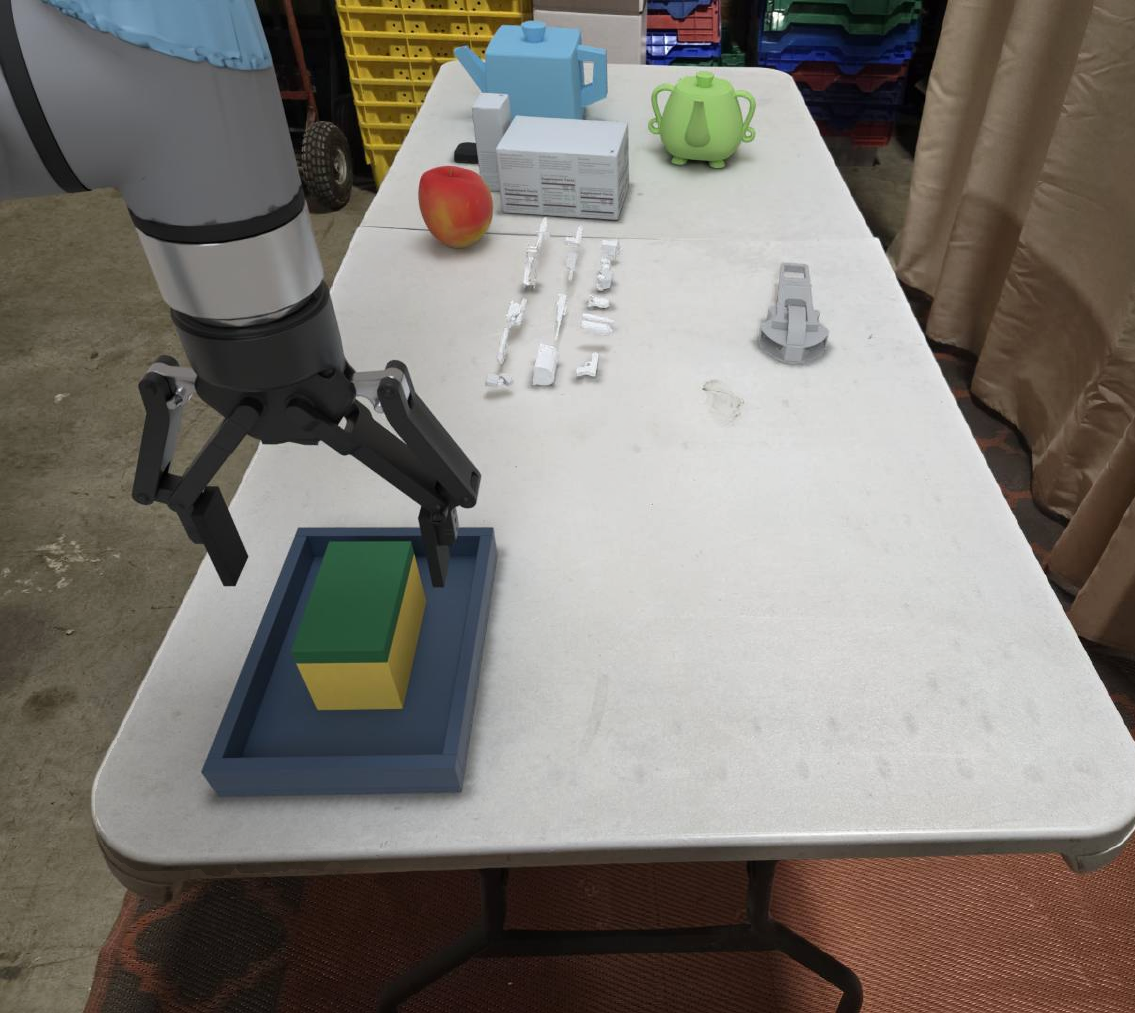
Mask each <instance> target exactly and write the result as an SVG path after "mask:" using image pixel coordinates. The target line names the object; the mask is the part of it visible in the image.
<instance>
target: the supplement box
mask: <svg viewBox="0 0 1135 1013" xmlns="http://www.w3.org/2000/svg"><path fill="white" fill-rule="evenodd" d="M629 144H630V142H629V122H628V121H610V120H609V121H608V120H593V119H591V120H590V119H583V120H578V119H561V118H545V117H529V116H517V115H516V117H515V118H514V120H513V121H512V123H511V125H510V126H509V128H508V130H507V131H506V133H505V134H504V136H503V138H502V139H501V141H500V142H499V144H498V146H497V147H496V149H495V151H496V160H497V169H498V177H499V186H500V191H499V195H500V206H501V212H502V213H507V214H509V213H511V214H522V215H523V214H524V215H538V216H550V217H551V216H553V217H565V218H567V217H568V218H583V219H599V220H611V221H612V220H613V221H618V220H619V219H620V214H621V212H622V209H623V205H624V202H625V199H626V195H627V192H628V189H629V185H630V151H629V150H630V148H629V147H630V145H629Z"/></svg>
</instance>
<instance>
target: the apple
mask: <svg viewBox="0 0 1135 1013" xmlns="http://www.w3.org/2000/svg"><path fill="white" fill-rule="evenodd" d="M420 176H421V177H420V179H419V183H418V192H417V198H418V199H417V200H418V206H419V210H420V214H421V218H422V220H423V222H424V224H425V227H426V228H427V230H428V231H429V233H431V235H432V236H433V237H434V238H435V239H436V240H437V241H439V242H440V243H441V244H443V245H445V246H447V247H449V248H452V249H466V248H468V247H470V246H472V245H474V244H475V243H477V242H479V241H480V240H481V239H482V238H483V237H484V236H485V235H486V233H487V232H488V230H489V229H490V227H491V224H492V220H493V214H494V200H493V195H492V191H490V190H489V188H488V186H487V184H486V183H485V181H484V180H483V179H482V177H481V176H480V174H478V173H477V172H476V171H474V170H472V169H469V168H464V167H460V166H457V165H441V166H436V167H433V168H430V169H428V170H426V171H425V172H423V173H422V175H420Z"/></svg>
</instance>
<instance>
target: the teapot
mask: <svg viewBox="0 0 1135 1013" xmlns="http://www.w3.org/2000/svg"><path fill="white" fill-rule="evenodd" d="M665 91H667V92H670V94H669V97H668V99H667V101H666V103H665V106H664V108H663V111H662V114H661V111H660V107H659V104H658V94H660V93H661V92H665ZM738 98H744V99H746V100H747V101H748V102H749V110H748V113H747V115H746V117H745V119H744V120H743V113H742V109H741V106H740V102H739V100H738ZM650 100H651V106H652V110H653V114H654V116H655V117H653V118H651V119H650V120H649V121H648V124H647V128H648V130H649V132H650V133H651V134H653V135H659V136H660V140H661V142H662V144H663V147H664V148H665V149H666V151H667V152H668V153H669V154H670V155H672V156H673V157H672V159H671V163H672V164H674V165H678V166H679V165H680V166H681V165H686V164H687V163H688V160H695V161H708V165H709V166H710V167H711V168H714V169H721V168H724V167H725V166H726V164H725V161H724V160H726V159H728V158H729V157H731V156H732V155H733V154H734V153H735V152H736V151H737V149H738V148H739V146H740V145H741V143H742V142H743V143H751V142H754V140H755V138H756V129H755V128H753V127H752V126H750V125H751V122H752V120H753V117H754V115H755V112H756V108H757V103H756V99H755V97H754V95H753V94H752V93H750V92H749V91H747V90H744V89H737V90H735V88H734V86H733V84H732V83H731V82H730V81H729V80H728V79H725V78H722V77H715V73H713V72H711V71H707V70H701V71H697V72H696V73H695V75H689V76H685V77H682V78H680V79H679V80H678V81H677V82H676V84H674V85H673V84H671V83H661V84H659V85H658V86H656V87H655V88H654V89H653V90H652V93H651V96H650ZM743 121H744V122H743ZM654 123H656V124H657V127H655V126H654ZM747 132H749V133H750V135H749V136H748V135H747V134H746V133H747Z"/></svg>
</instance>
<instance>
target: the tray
mask: <svg viewBox="0 0 1135 1013" xmlns="http://www.w3.org/2000/svg"><path fill="white" fill-rule="evenodd" d="M359 541H411V543H412V547H413V551H414V555H415V559H416V563H417V567H418V571H419V575H420V578H421V582H422V586H423V590H424V594H425V598H426V605H425V610H424V615H423V619H422V624H421V628H420V633H419V637H418V642H417V646H416V651H415V656H414V660H413V665H412V669H411V674H410V678H409V683H408V688H407V692H406V697H405V701H404V706H403V709H360V710H317V708H316V705H315V703H314V701H313V699H312V697H311V695H310V692H309V690H308V688H307V686H306V684H305V682H304V679H303V677H302V675H301V673H300V671H299V668H298V666H297V664H296V662H295V660H294V657H293V655H292V653H291V649H292V646H293V643H294V641H295V638H296V635H297V632H298V629H299V626H300V623H301V621H302V618H303V615H304V612H305V609H306V606H307V603H308V601H309V598H310V595H311V592H312V589H313V586H314V583H315V581H316V578H317V575H318V572H319V569H320V566H321V563H322V561H323V558H324V555H325V552H326V549H327V546H328V543H329V542H359ZM497 548H498V547H497V542H496V535H495V528H494V527H493V526H459V528H458V533H457V538H456V542H455V544H454V546H448V549H449V554H450V562H449V566H448V571H447V576H446V581H445V586H444V588H442V587H433V586H432V581H431V577H430V572H429V567H428V563H427V558H426V554H425V549H424V544H423V540H422V535H421V530H420V526H417V527H416V526H415V527H414V526H413V527H412V526H405V527H404V526H402V527H401V526H398V527H397V526H395V527H394V526H387V527H386V526H383V527H382V526H380V527H379V526H378V527H375V526H373V527H372V526H366V527H364V526H363V527H362V526H361V527H359V526H358V527H355V526H353V527H352V526H351V527H348V526H347V527H344V526H343V527H340V526H339V527H337V526H336V527H335V526H333V527H323V526H321V527H319V526H317V527H315V526H311V527H305V526H304V527H300V526H299V527H297V529H296V532H295V534H294V537H293V539H292V542H291V544H290V547H289V549H288V552H287V554H286V557H285V560H284V561H283V565H282V567H281V570H280V572H279V575H278V578H277V580H276V582H275V585H274V587H273V590H272V591H271V592H272V593H271V595H270V598H269V600H268V603H267V605H266V608H265V610H264V613H263V615H262V617H261V620H260V622H259V625H258V627H257V630H256V632H255V636H254V638H253V639H252V643H251V646H250V648H249V649H248V650H249V651H248V653H247V656H246V658H245V661H244V663H243V665H242V667H241V670H240V672H239V673H240V674H239V676H238V678H237V681H236V683H235V686H234V688H233V691H232V693H231V696H230V698H229V701H228V703H227V706H226V708H225V711H224V714H223V716H222V718H221V721H220V724H219V726H218V729H217V732H216V734H215V736H214V739H213V741H212V744H211V746H210V749H209V751H208V754H207V756H206V759H205V761H204V764H203V766H202V769H201V771H200V773H201V774H202V776H203V777H204V779H205V780H206V782H207V783H208V785H209V786H210V787H211V789H212V790H213V792H214V793H215V794H216V795H217V797H219V798H220V797H221V798H222V797H268V796H269V797H272V796H275V797H276V796H277V797H278V796H316V795H317V796H321V795H323V796H325V795H374V794H375V795H377V794H378V795H379V794H424V793H426V794H427V793H429V794H430V793H433V794H434V793H461V792H463V785H464V779H465V771H466V766H467V760H468V753H469V744H470V739H471V733H472V726H473V725H472V724H473V720H474V712H475V704H476V698H477V693H478V687H479V679H480V672H481V667H482V659H483V653H484V647H485V646H484V645H485V638H486V632H487V626H488V620H489V613H490V606H491V601H492V593H493V586H494V580H495V575H496V574H495V572H496V567H497V560H498V549H497Z"/></svg>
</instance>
